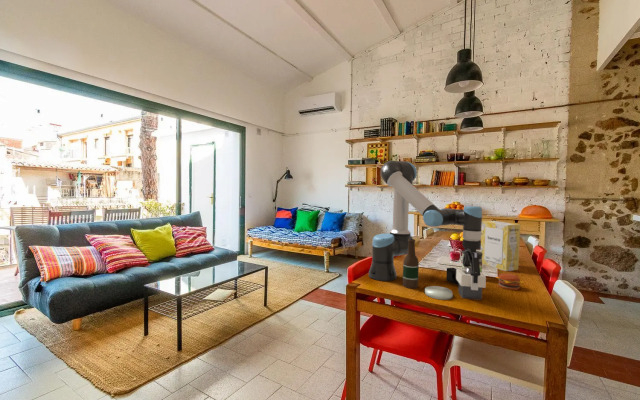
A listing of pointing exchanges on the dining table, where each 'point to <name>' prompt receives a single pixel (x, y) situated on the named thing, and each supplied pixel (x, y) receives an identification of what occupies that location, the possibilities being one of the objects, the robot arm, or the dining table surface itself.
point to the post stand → (467, 292)
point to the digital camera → (452, 276)
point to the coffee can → (479, 259)
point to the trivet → (438, 292)
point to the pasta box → (500, 245)
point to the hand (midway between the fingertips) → (470, 284)
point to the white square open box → (469, 278)
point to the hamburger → (509, 281)
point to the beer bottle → (410, 267)
